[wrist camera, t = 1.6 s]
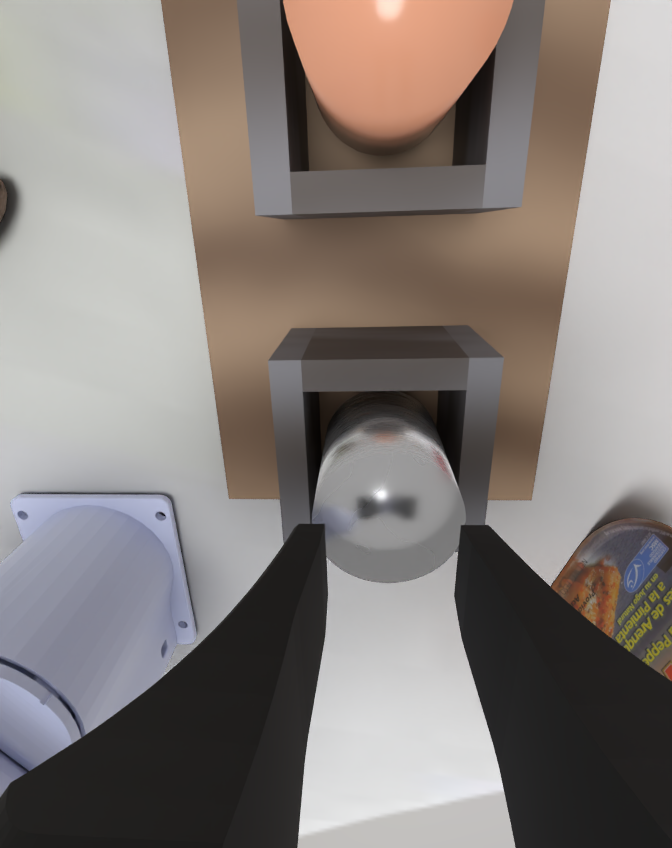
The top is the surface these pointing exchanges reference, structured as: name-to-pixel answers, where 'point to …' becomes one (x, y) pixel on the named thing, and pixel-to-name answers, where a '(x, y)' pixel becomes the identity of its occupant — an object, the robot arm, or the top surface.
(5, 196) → the brown curved piece
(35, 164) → the top surface
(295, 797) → the robot arm
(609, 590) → the tin
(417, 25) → the terracotta plunger
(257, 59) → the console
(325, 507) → the steel plunger
